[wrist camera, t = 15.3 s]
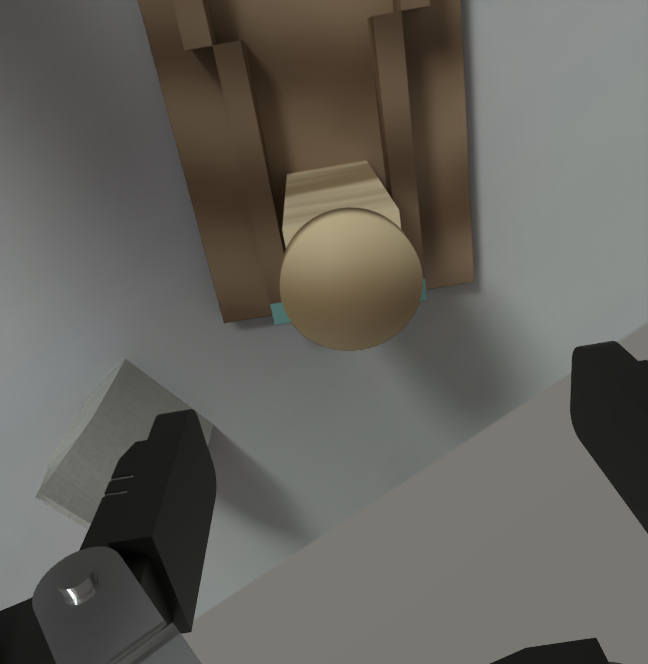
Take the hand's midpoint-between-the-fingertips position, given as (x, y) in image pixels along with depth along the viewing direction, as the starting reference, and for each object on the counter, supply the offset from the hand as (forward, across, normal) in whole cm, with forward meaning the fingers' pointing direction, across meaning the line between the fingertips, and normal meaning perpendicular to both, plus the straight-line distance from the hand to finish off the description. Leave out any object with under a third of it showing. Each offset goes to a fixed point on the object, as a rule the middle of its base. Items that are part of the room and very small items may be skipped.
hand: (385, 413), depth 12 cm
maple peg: (+19, 0, 0) cm, 19 cm away
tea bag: (+20, +13, +11) cm, 26 cm away
